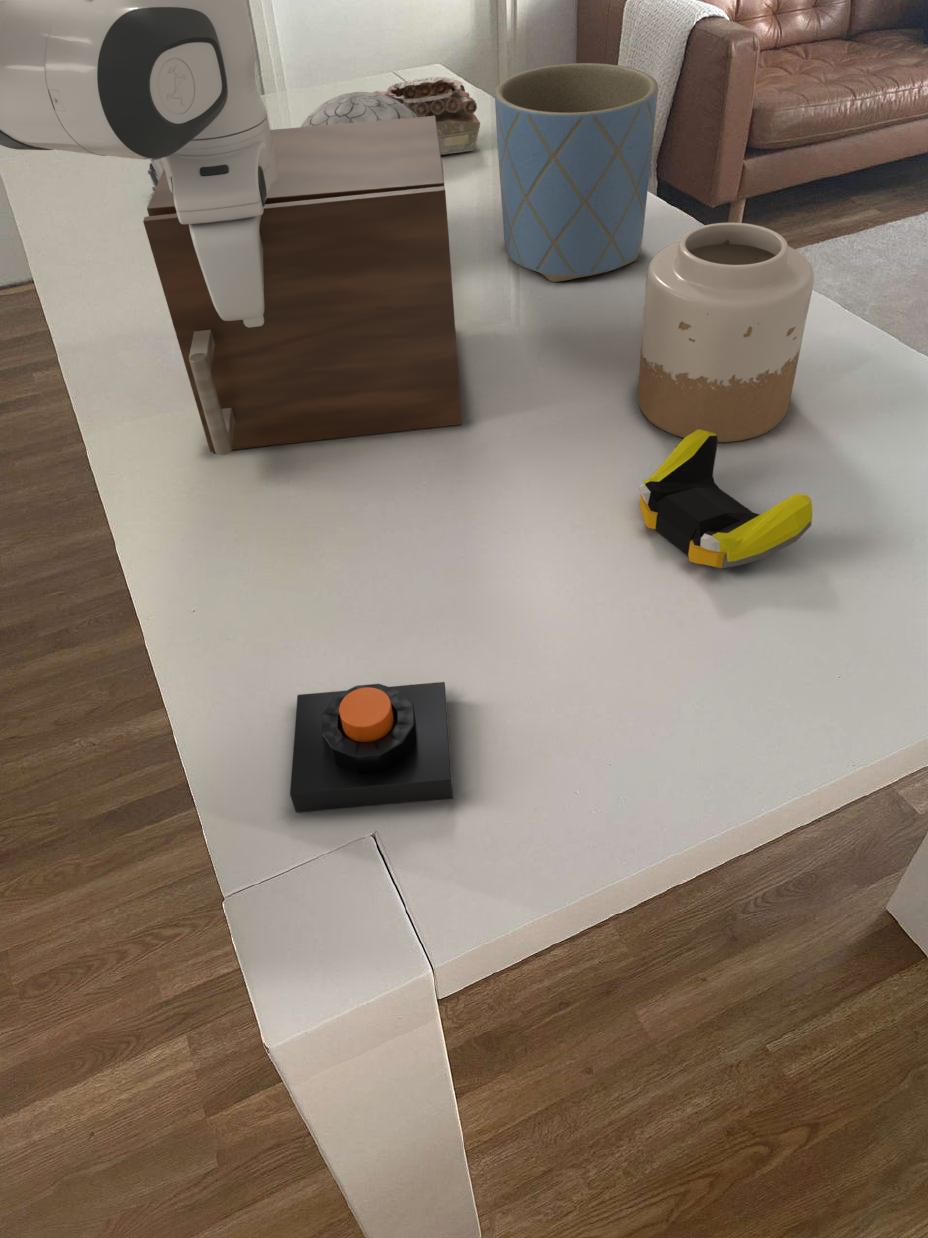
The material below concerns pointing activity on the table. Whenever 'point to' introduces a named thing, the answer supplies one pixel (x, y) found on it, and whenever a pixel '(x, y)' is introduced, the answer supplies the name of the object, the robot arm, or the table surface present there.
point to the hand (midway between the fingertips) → (255, 320)
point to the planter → (575, 166)
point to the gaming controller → (715, 510)
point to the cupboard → (344, 161)
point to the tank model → (441, 110)
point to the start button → (366, 714)
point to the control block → (372, 752)
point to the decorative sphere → (358, 110)
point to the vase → (723, 331)
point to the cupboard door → (323, 322)
